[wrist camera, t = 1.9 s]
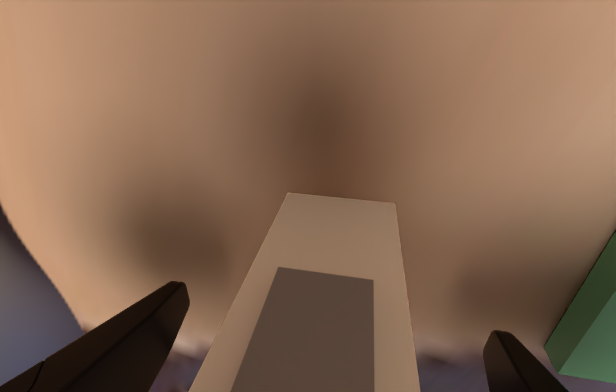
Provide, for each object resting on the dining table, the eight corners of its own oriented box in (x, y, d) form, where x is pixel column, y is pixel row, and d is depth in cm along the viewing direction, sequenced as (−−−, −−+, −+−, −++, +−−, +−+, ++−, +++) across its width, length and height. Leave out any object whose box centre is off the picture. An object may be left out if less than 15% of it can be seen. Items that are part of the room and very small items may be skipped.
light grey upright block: (375, 311, 12) (380, 631, 6) (289, 298, 13) (206, 578, 6) (397, 192, 10) (449, 532, 3) (287, 181, 10) (141, 456, 4)
